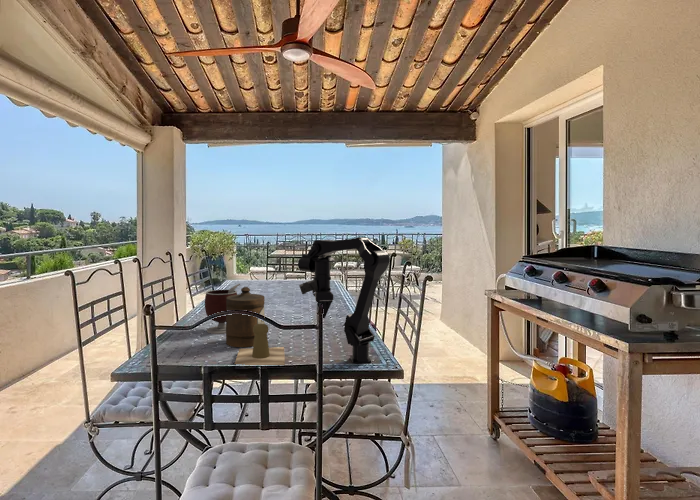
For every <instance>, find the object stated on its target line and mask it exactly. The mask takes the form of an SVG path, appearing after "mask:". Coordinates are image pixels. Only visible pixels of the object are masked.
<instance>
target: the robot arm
mask: <svg viewBox="0 0 700 500" xmlns="http://www.w3.org/2000/svg"><path fill="white" fill-rule="evenodd" d="M349 250H356V251H357V252H358V254H359V257H360V258H361V259H362V261H363V271H364V278H363V281H362V284H361V287H360V291H359V294H358V298H357V301H356V305H355V309H354V311H353V313H350V314H347V315H346V317H345V321H344V323H343V331H344V333H345V338H346V342H347V345H350V346H351V347H352V349H351V351H352V353H351V354H352V355H350V356H349V359H350V361H351V362H352V364H364V363H365V364H368V363H372V359H371V358H370V342H372V343H373V342H374V340H375V335H374V333H373V331H372V330H371V329H370V319H369V318H370V317H369V313H370V309H371V306H372V303H373V300H374V297H375V294H376V293H375V292H376V290H377V286H378V283H379V281H380V278H381V277H382V275H383V274H384V273H385V272H386V270H387V268H388V267H389V266H390V265H389V264H390V262H391V257H390V255H389V253H388V252H387V251H386V250H383V248H381V246H378V245H377V244H375V243H374V242H372V241H371V240H370V239H369V238H368V237H366V236H358V237H354V238H349V239H348V238H347V239H341V240H334V239H315V240H314V241H313V243H312V245H311V247H310V249H309V250H308V253H302V254H301V257H300V258H299V260H298V262H297V267H298V270H299V271H300V272H304V273H306V272H307V273H314V275H313V279H312V280H308V281H306V282H302V283H300V284H298V287H299V288H300V289H299V290H300V293H301V294H302V295H306V294H307V293H310V292H312V295H313V297H314V298H315V299H314V300H315V302H316V303H317V304H318V303H322V304H323V309H324V314H323V318H322V319H325V318H326V317H327V314H328V311H329V309H330V308H331V305H332V304H333V303H332V302H333V301H334V294H333V292H332V291H331V290H332V289H331V280H332V277H331V263H335V261H336V259H334V257H332V254H336V253H337V252H340V251H349Z"/></svg>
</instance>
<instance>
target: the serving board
mask: <svg viewBox="0 0 700 500" xmlns="http://www.w3.org/2000/svg"><path fill="white" fill-rule="evenodd" d="M252 352H253V347H252V348H250V347H248V348H239V349H238V352H237V356H236V358H235V361H234V364H242V365H243V364H245V365H285V364H286V363H285V361H286V360H285V359H286V358H285V347H284V346H281V347H280V346H279V347H278V346H277V347H269V353H270V356H269V357H267V358H260V359H259V358H253V357H252ZM285 366H286V365H285Z"/></svg>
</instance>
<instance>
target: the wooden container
mask: <svg viewBox="0 0 700 500" xmlns="http://www.w3.org/2000/svg"><path fill="white" fill-rule="evenodd" d="M250 291H251V288H250V287H248V286H243V287H242V288H241V289H240V292H241V293H239V294H238V293H237V295H231V296H228V297H227V299H226V306H227V307H226V311H227V310H247V311H252V312H256V313H258V314H261V315H263V316H264V317H265V295H262V294H257V293H251V292H250ZM225 324H226V334H225V343H226V345H227V346H230V347H232V348H233V347H234V348H250V347H252V348H253V344H254V337H255V334H254V332H253V327H254V325H256V324H266V321H265V322H264V321H262V320H260V319H258V318H256V317H253V316H248V315H242V314H232V315H226V322H225Z"/></svg>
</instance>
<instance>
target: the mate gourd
mask: <svg viewBox="0 0 700 500" xmlns="http://www.w3.org/2000/svg"><path fill="white" fill-rule="evenodd" d="M240 286H241V283H238V284H235V285H234V286H232V287H231V288H229V289H227V288H226V289H213V290H212V289H211V290H208V291H206V292H205V297H204V310H205V314H206V316H207V317H208V316H209V315H212V314H214V313H217V312H221V311H226V307H227V306H226V299H227V297H228V296H231V295H238V292H237V290H236V289H237V288H238V287H240ZM211 321H213V322H215V323H218V324H217V326H212V327H209V328H207V329H206V331H207V333H208V334H210V333H211V335H226V316H221V317H217V318H214V319H212V320H211Z"/></svg>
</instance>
